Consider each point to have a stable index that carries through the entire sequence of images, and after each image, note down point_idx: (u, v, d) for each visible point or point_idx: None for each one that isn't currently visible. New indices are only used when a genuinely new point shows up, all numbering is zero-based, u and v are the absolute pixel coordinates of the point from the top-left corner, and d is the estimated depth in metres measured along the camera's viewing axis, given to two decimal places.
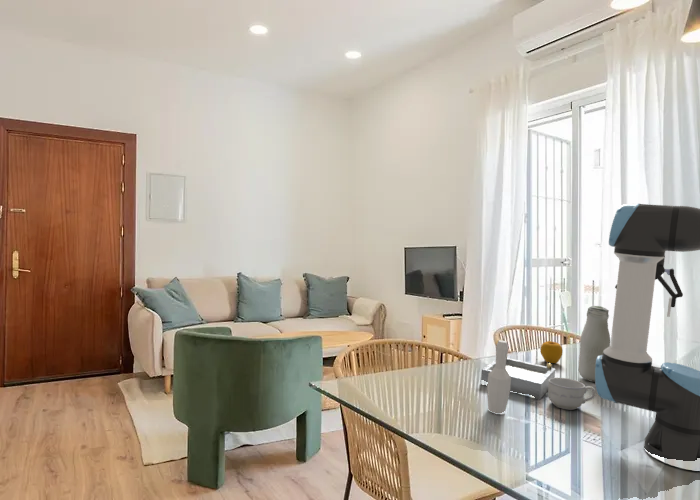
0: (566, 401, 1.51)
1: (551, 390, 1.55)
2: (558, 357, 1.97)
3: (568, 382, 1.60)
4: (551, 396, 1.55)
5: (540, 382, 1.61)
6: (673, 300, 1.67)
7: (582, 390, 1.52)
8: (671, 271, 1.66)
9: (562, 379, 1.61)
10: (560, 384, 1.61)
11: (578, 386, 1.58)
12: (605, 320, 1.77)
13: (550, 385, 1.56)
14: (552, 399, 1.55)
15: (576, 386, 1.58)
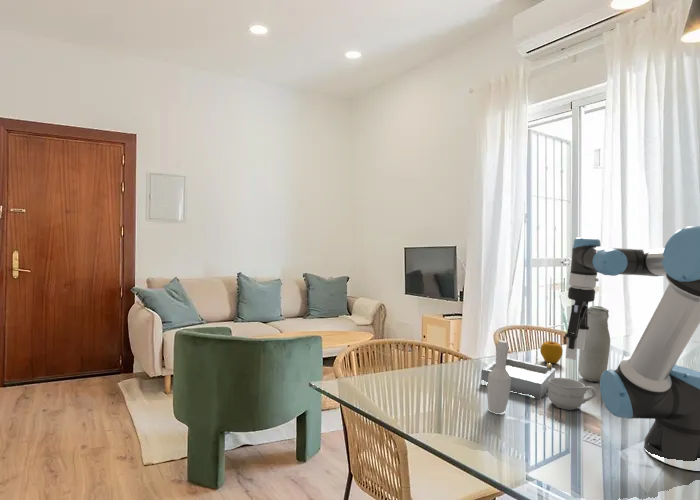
0: (566, 401, 1.51)
1: (551, 390, 1.55)
2: (558, 357, 1.97)
3: (568, 382, 1.60)
4: (551, 396, 1.55)
5: (540, 382, 1.61)
6: None
7: (582, 390, 1.52)
8: None
9: (562, 379, 1.61)
10: (560, 384, 1.61)
11: (578, 386, 1.58)
12: (605, 320, 1.77)
13: (550, 385, 1.56)
14: (552, 399, 1.55)
15: (576, 386, 1.58)
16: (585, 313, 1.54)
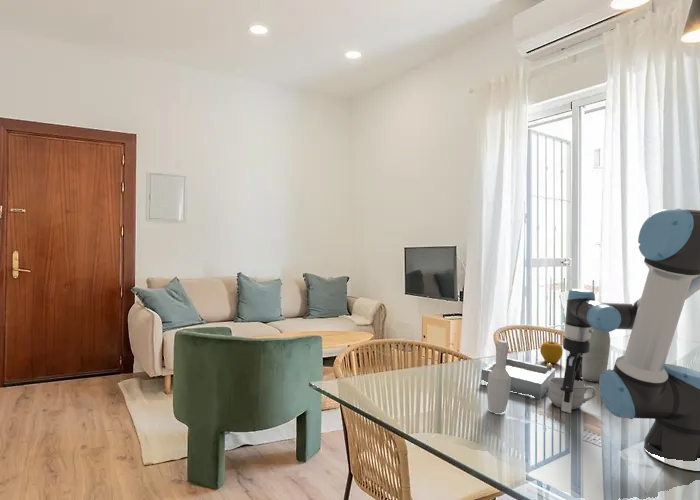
0: None
1: (551, 390, 1.55)
2: (558, 357, 1.97)
3: None
4: (551, 396, 1.55)
5: (540, 382, 1.61)
6: (565, 393, 1.50)
7: (582, 390, 1.52)
8: None
9: (562, 379, 1.61)
10: (560, 384, 1.61)
11: (578, 386, 1.58)
12: None
13: (550, 385, 1.56)
14: (552, 399, 1.55)
15: (576, 386, 1.58)
16: (580, 364, 1.55)
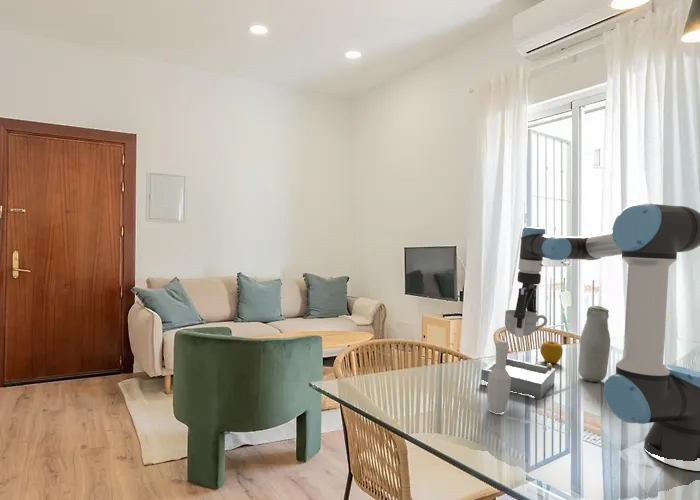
0: None
1: (506, 319, 1.71)
2: (558, 357, 1.97)
3: None
4: (506, 324, 1.71)
5: (540, 382, 1.61)
6: None
7: (534, 317, 1.68)
8: None
9: None
10: None
11: None
12: (605, 320, 1.77)
13: (506, 314, 1.72)
14: (507, 327, 1.71)
15: None
16: (533, 295, 1.71)
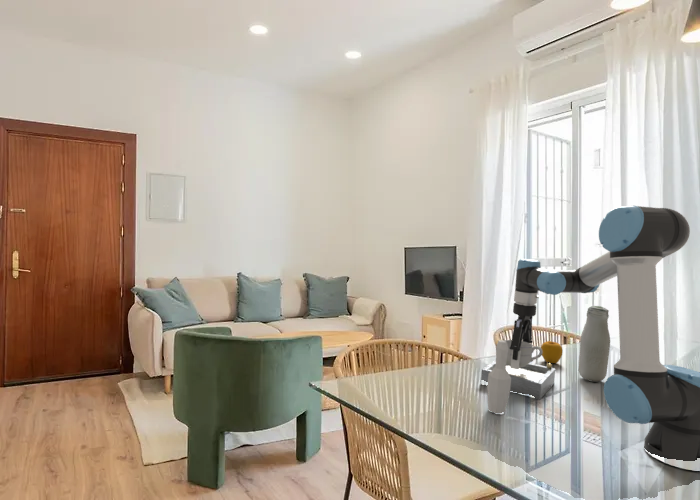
0: None
1: None
2: (558, 357, 1.97)
3: None
4: None
5: (540, 382, 1.61)
6: None
7: (529, 349, 1.69)
8: None
9: None
10: None
11: (528, 347, 1.75)
12: (605, 320, 1.77)
13: None
14: None
15: (526, 347, 1.76)
16: (528, 326, 1.73)
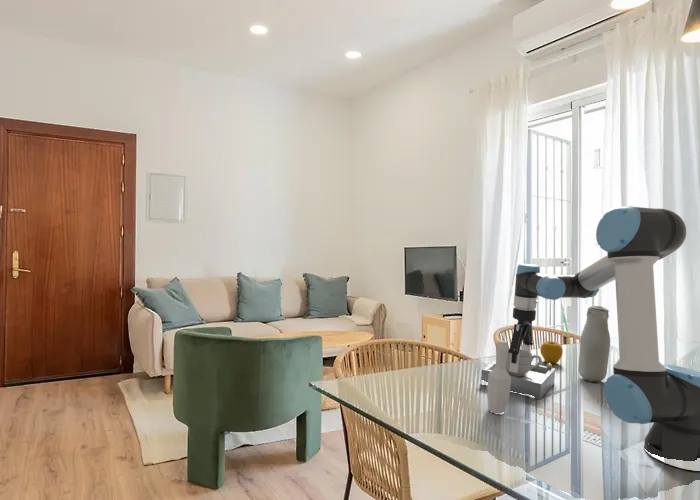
0: None
1: None
2: (558, 357, 1.97)
3: (519, 352, 1.78)
4: None
5: (540, 382, 1.61)
6: None
7: (528, 358, 1.69)
8: None
9: None
10: None
11: (527, 355, 1.75)
12: (605, 320, 1.77)
13: None
14: None
15: (525, 355, 1.76)
16: (528, 331, 1.73)
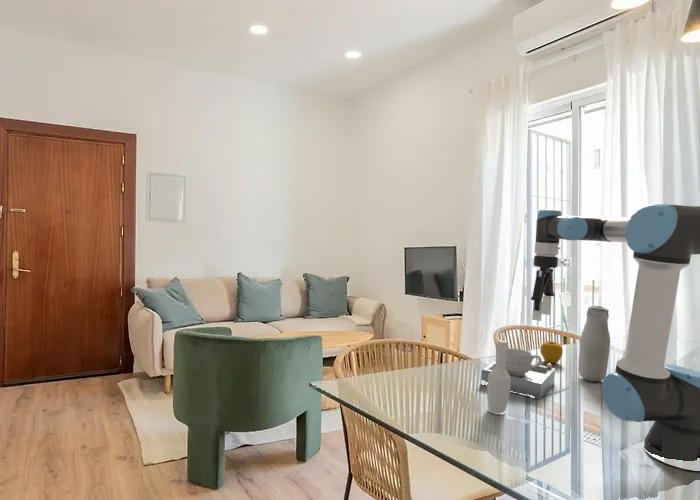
0: (514, 368, 1.69)
1: None
2: (558, 357, 1.97)
3: (519, 352, 1.78)
4: None
5: (540, 382, 1.61)
6: (535, 302, 1.61)
7: (528, 358, 1.70)
8: None
9: (513, 350, 1.79)
10: (512, 354, 1.79)
11: (527, 355, 1.75)
12: (605, 320, 1.77)
13: None
14: None
15: (525, 355, 1.76)
16: (550, 279, 1.67)
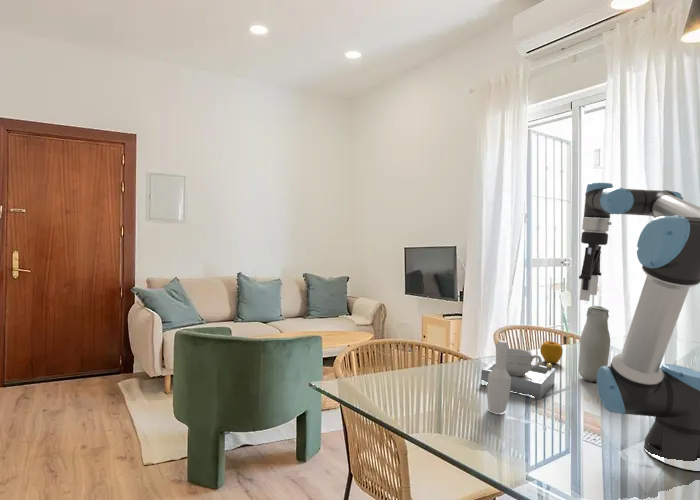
0: (514, 368, 1.69)
1: None
2: (558, 357, 1.97)
3: (519, 352, 1.78)
4: None
5: (540, 382, 1.61)
6: (583, 281, 1.51)
7: (528, 358, 1.70)
8: None
9: (513, 350, 1.79)
10: (512, 354, 1.79)
11: (527, 355, 1.75)
12: (605, 320, 1.77)
13: None
14: None
15: (525, 355, 1.76)
16: (598, 257, 1.57)
